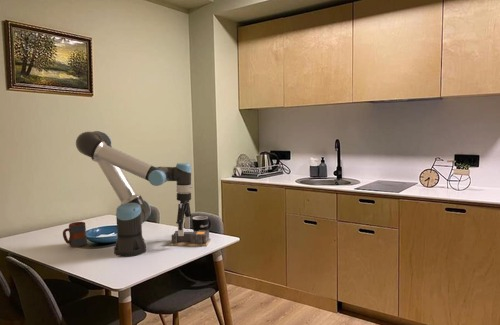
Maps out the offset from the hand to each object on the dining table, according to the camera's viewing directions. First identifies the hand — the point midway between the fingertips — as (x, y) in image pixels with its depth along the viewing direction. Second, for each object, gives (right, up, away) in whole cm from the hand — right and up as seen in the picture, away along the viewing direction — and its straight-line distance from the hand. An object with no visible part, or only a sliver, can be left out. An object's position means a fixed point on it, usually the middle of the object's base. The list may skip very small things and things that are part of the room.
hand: (184, 232), depth 199 cm
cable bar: (+3, -5, 0) cm, 6 cm away
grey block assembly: (+4, -6, 0) cm, 7 cm away
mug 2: (+8, -5, +16) cm, 18 cm away
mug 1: (-57, -7, -2) cm, 57 cm away
